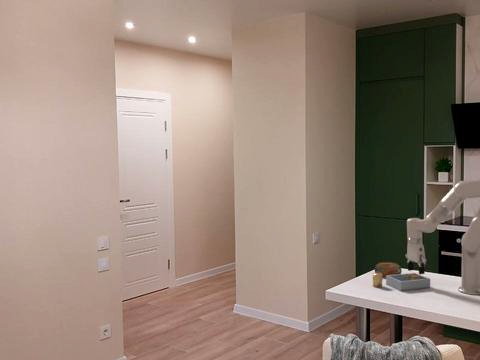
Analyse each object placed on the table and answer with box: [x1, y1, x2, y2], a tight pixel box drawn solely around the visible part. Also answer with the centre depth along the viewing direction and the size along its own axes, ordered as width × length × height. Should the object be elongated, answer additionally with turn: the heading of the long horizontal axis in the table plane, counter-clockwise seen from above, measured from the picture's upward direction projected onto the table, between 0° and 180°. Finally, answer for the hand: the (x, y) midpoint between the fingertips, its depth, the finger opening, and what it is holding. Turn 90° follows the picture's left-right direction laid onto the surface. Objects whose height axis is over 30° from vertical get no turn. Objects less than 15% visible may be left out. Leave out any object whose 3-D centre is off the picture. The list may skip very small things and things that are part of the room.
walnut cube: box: [407, 273, 422, 281], centre depth 267 cm, size 5×5×5 cm
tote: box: [385, 272, 431, 292], centre depth 266 cm, size 14×18×5 cm
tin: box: [374, 262, 402, 278], centre depth 286 cm, size 15×3×8 cm, turn 73°
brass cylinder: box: [372, 272, 383, 289], centre depth 266 cm, size 5×5×7 cm
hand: (416, 272), depth 266 cm, fingers open, 9 cm apart
